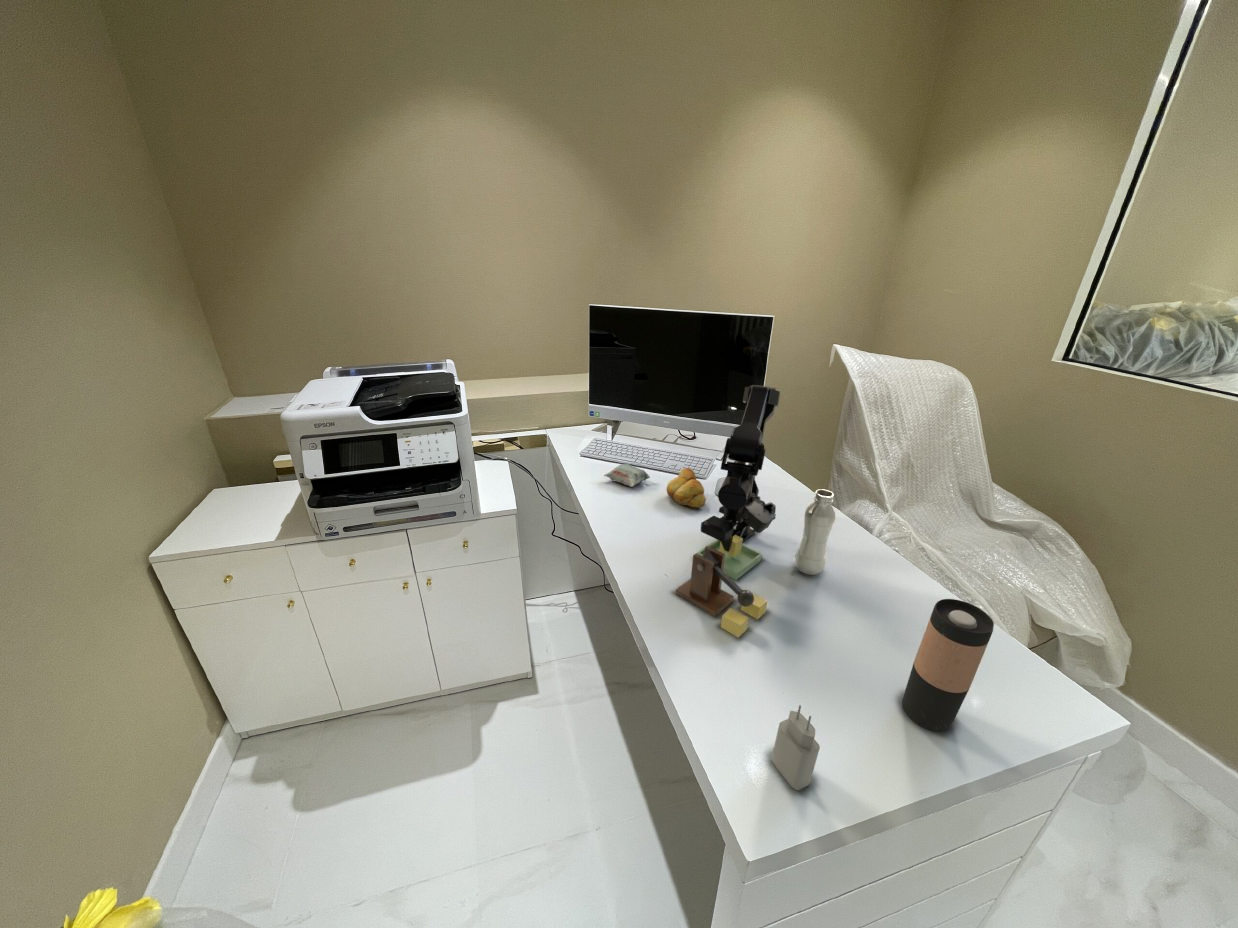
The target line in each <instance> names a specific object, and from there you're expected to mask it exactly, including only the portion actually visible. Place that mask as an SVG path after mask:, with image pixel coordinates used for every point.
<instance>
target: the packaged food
mask: <svg viewBox="0 0 1238 928" xmlns="http://www.w3.org/2000/svg"><path fill="white" fill-rule="evenodd" d="M603 477H606V478H609V479H610V480H612V481H615V482H618V483H621V484H622V485H625V486H628V487H631V488H632V487H634V486H636V485H638V484H640V483H642V482H644V481H646V480H648V479H650V478H651V476H650V475H649V474H648V473H647V472H646V471H645V470H644V469H642V468H638V467H636V466H633V465H631V464H628V463H622V464H619V465H617V466H616V467H614V468H613V469H611V470H610V472H606V473H604V474H603Z"/></svg>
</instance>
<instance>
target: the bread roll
mask: <svg viewBox="0 0 1238 928" xmlns="http://www.w3.org/2000/svg"><path fill="white" fill-rule="evenodd" d="M666 493H667V496H669V498H671V499H673V500H674V501H675V502H676V503H677V504H679V505H683V506H688V507H690V508H702V507H703V506H705V504H706V502H707V498H706V496H705V488H704V486H703V484H702V482H701V481H700V480H698V479H697V475H696V473H695V471H694V470H693V469H691V468H689V467H688V468H687V467H686V468H683V469H682V470H680V472H679V474H678V475H677V477H674V478H673V479H671V480H670V481H669V482H668V483H667V485H666Z"/></svg>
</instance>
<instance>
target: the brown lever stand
mask: <svg viewBox="0 0 1238 928" xmlns="http://www.w3.org/2000/svg"><path fill="white" fill-rule="evenodd" d="M704 548H705V551H704V555H705V554H706V553H708V552H710V553H711V554H712V555H713V556H714V557H715V558H716V559H717V560H718V561H719V562H718V563H717V566H718V567H719V568H720V569H721V570H722V571H723V568H724V561H725V554H724V553H722V552H720V551H718V550H716V549H714V548H712V547H709V546H708V545H705V546H704ZM697 553H698V552H696V553H694V554H693V556H692V564H691V573H690V579H688V580H687V581H686V582H684V583H683V584H681V585H679V586H678V587H677V588H676V589H675V595H677V596H678V597H680V598H682V599H684V600H685V601H687V602H689V603H691V604H692V605H694V606H696V607H697V608H699V609H701V610H703V611H704V612H706V613H708V614H709V615H711V616H712V617H716V616H718V615H719V614H720V613H721V612H722V611H723V610H725V609H726V608H728V606H729V605H731V604H732V603H733V602H734V600H735V595H733V594H731V593H729V592H727V591H725V590H723V589H722V583H723V581H722V580H721V579H720V578H719V577H718V576H717V575H716V574H715V573H714V572H713V567H714V562H712V561H711V560H709V559H707V558H705V557H703V556H701V555H699V554H697Z"/></svg>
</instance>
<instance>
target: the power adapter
mask: <svg viewBox="0 0 1238 928" xmlns="http://www.w3.org/2000/svg"><path fill="white" fill-rule="evenodd" d="M801 709H802V705H801V704H799V705H798V709H797V711H795V710H790V711H789V714H788V718H786V719H784V720H782V721H780V722H779V723H778V724H779V725H778V728H777V732H776V737H775V741H774V746H773V750H772V754H771V759H770V760H771V762H772V764H773V765H774V767H775V768H776V769H777V770H778V772H779V773H780V774H781V775H782V777H783V778H784V779H785V780H786V782H787V783H788V784H789V786H790V787H791V788H792V789H793V790H795V791H801V790H803V789H804V788H806V787H808V786H810V784H811V780H812V777H813V773H814V770H815V766H816V762H817V759H818V756H819V752H820V748H821V746H820V744H819V742H818V741H817V740H816V739H815V737H816V728H815V727H814V725H813V724H812V723H811V721H812V716H811V715H808V719H807V718H806V717H805V716H804V715H803V714H802V713H801Z"/></svg>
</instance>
